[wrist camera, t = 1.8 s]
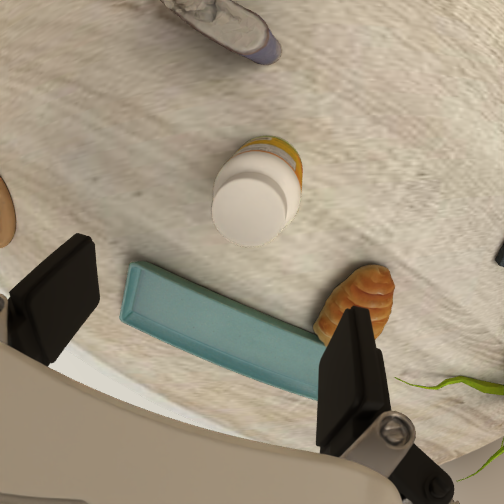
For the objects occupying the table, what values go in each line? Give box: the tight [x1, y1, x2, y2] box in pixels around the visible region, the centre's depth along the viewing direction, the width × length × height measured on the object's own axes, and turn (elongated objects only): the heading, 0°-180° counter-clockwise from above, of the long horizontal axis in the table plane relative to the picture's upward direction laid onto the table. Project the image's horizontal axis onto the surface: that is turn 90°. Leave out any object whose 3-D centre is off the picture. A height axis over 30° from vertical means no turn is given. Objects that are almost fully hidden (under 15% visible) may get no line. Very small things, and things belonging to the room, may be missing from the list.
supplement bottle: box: [211, 136, 303, 247], centre depth 21 cm, size 5×5×10 cm
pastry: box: [313, 265, 395, 347], centre depth 28 cm, size 9×7×4 cm
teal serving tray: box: [119, 261, 326, 401], centre depth 33 cm, size 26×9×2 cm, turn 66°
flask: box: [160, 0, 282, 65], centre depth 15 cm, size 9×3×11 cm, turn 44°
